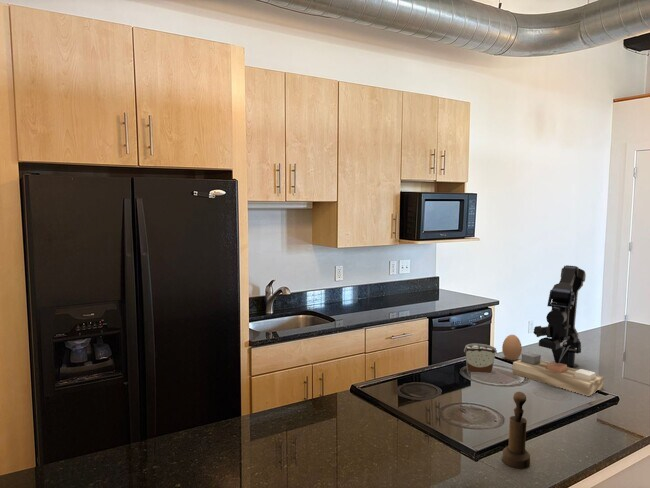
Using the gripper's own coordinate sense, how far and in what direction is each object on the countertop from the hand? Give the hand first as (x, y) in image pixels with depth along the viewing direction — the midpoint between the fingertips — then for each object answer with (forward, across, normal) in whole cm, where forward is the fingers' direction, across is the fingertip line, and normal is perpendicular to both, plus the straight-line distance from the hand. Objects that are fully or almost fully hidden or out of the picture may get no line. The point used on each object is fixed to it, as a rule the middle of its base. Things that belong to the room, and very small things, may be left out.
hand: (557, 362), depth 180 cm
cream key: (+4, 0, +10) cm, 11 cm away
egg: (+7, -9, -23) cm, 26 cm away
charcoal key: (+2, 0, -10) cm, 10 cm away
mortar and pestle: (+7, +66, +21) cm, 70 cm away
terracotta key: (+4, 0, 0) cm, 4 cm away
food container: (+7, +14, -24) cm, 29 cm away
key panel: (+7, 0, 0) cm, 7 cm away
